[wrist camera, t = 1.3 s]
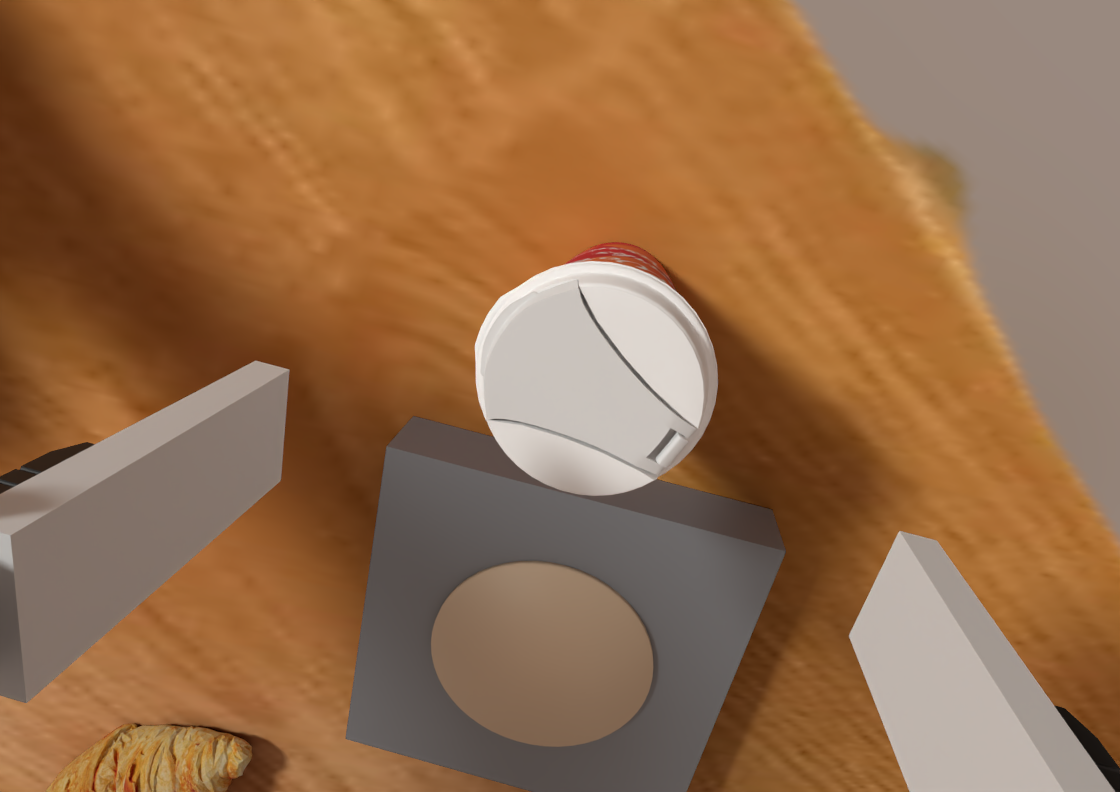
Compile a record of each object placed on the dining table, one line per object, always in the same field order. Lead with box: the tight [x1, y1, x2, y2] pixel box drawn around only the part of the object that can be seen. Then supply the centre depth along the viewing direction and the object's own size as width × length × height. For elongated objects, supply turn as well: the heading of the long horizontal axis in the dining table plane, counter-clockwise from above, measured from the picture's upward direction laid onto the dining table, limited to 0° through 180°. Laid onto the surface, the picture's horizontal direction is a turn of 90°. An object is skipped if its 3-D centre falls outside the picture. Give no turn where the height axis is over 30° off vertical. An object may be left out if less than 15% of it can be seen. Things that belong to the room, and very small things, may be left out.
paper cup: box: [475, 242, 718, 496], centre depth 27 cm, size 8×8×14 cm
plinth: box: [346, 416, 786, 792], centre depth 38 cm, size 20×20×4 cm
